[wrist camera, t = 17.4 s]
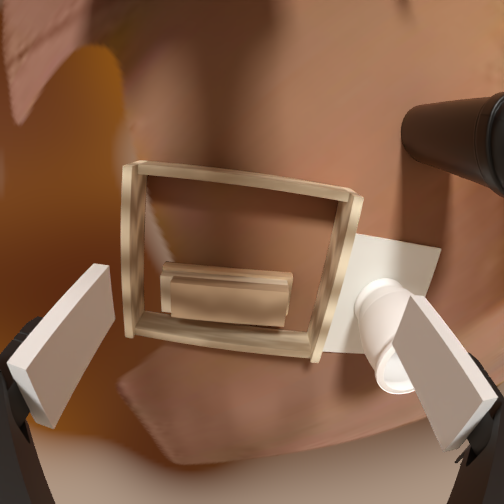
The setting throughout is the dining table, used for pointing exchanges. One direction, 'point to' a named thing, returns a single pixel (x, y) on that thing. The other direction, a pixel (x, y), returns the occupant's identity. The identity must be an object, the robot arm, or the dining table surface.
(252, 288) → the offcut stack
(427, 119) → the water bottle
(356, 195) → the rack
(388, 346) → the jar
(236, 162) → the dining table surface
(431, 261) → the mat
